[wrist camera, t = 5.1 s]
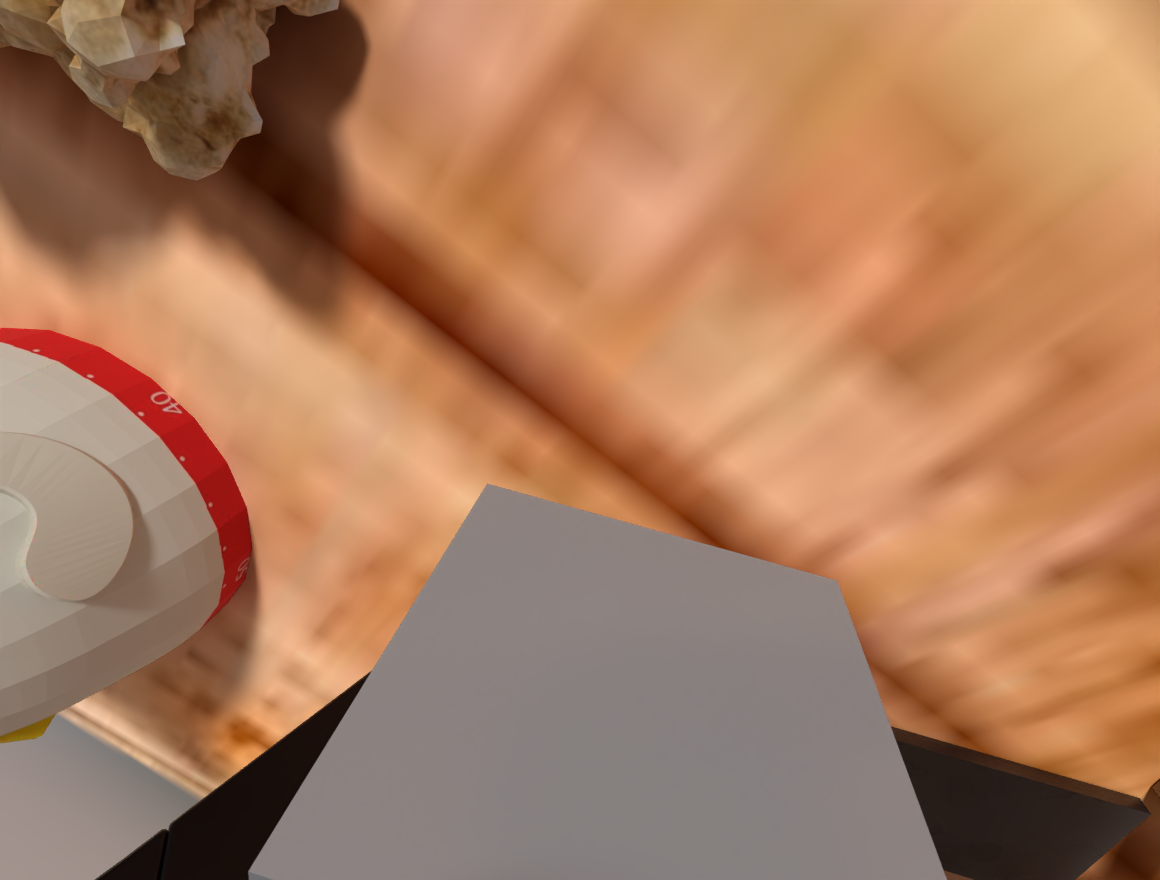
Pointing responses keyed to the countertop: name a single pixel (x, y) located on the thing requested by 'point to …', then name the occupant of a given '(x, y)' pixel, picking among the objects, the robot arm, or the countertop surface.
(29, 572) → the kitchen timer
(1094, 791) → the frame
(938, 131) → the countertop surface
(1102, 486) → the countertop surface
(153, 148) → the mineral formation
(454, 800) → the grey matte cube
